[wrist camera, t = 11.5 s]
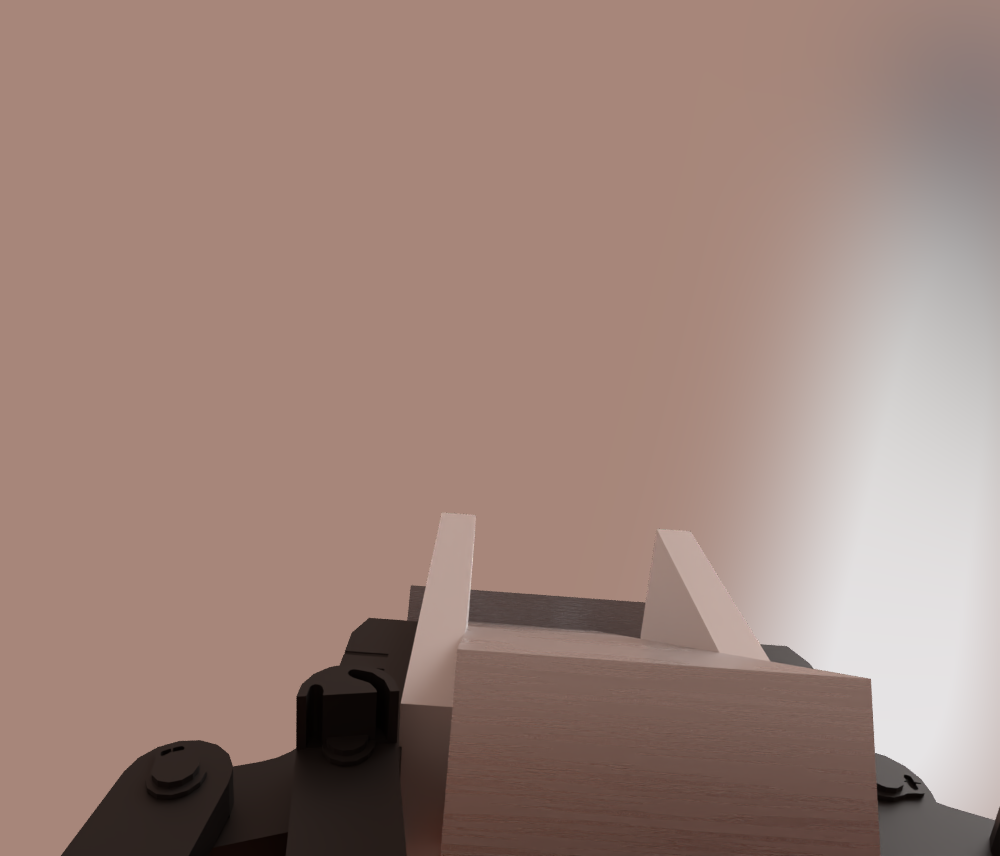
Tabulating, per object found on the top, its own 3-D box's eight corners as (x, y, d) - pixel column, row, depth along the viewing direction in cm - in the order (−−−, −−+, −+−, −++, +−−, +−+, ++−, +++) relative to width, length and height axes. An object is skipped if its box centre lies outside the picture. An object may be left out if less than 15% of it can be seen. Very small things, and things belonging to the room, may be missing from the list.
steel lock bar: (1119, 1060, 6) (1062, 588, 7) (191, 1001, 6) (263, 528, 7) (614, 707, 28) (617, 604, 29) (413, 693, 28) (423, 590, 29)
